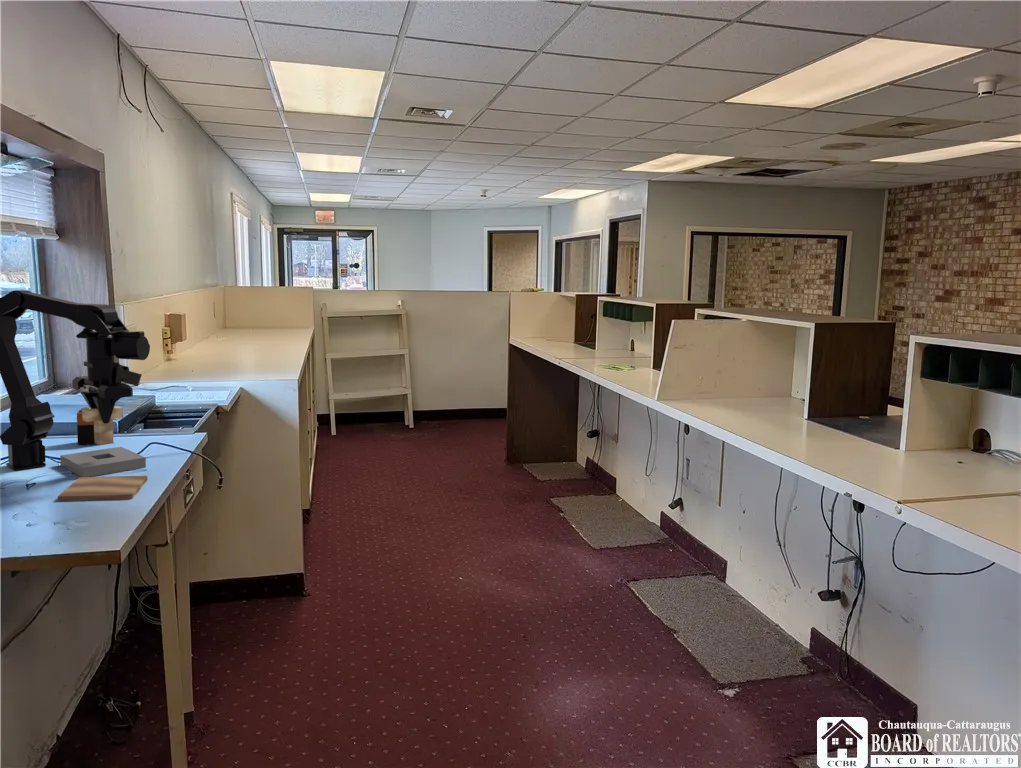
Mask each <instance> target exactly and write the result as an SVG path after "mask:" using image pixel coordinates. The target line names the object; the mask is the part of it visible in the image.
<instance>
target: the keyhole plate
mask: <svg viewBox="0 0 1021 768" xmlns="http://www.w3.org/2000/svg"><path fill="white" fill-rule="evenodd" d="M59 456H60V466H61V467H63V468H65V469H67V470H69V471H70V472H73V473H74V474H75V475H78V476H79V477H90V476H91V477H98V476H102V475H108V474H109V475H110V474H114V473H119V472H125V471H131V470H137V469H143V468H146V466H147V464H146V463H147V461H146V459H147V458H146V457H145V456H143V455H140V454H139V453H136V452H134V451H132V450H130V449H127V448H125V447H123V446H117V447H116V446H115V447H108V448H104V449H95V450H89V451H87V450H86V451H82V452H75V453H68V454H67V453H66V454H60V455H59Z"/></svg>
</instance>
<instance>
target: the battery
mask: <svg viewBox="0 0 1021 768" xmlns="http://www.w3.org/2000/svg"><path fill="white" fill-rule="evenodd" d="M86 409H90V407H89V406H88V407H87V406H86V407H85V406H84V407H80V409H79V410H78V411H77V413H76V431H77V432H76V433H77V434H76V435H77V436H76V437H77V444H78V446H87V445H97V444H96V443H95V440H94V421H91V422H86V421H83V416H82V410H86Z"/></svg>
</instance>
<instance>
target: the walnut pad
mask: <svg viewBox="0 0 1021 768" xmlns="http://www.w3.org/2000/svg"><path fill="white" fill-rule="evenodd" d="M148 479H149V478H148V475H118V476H117V475H116V476H115V475H114V476H112V475H111V476H108V475H107V476H91V477H81V476H79V477H78V478H76V480H74V481H73V482H72V483H71V484H70V485H69V486H68V487H66V489H64V490H63V491H62V492H61V493H60V494H59V495H57V501H58V502H61V501H62V502H64V501H67V502H68V501H70V502H71V501H100V500H105V499H106V500H133V499H134V498H135V496H136V495H137V494H138V493H139V492H140V490H141V488H142V487H143V486H144V485H145V484H146V482H148Z"/></svg>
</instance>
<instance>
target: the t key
mask: <svg viewBox="0 0 1021 768" xmlns="http://www.w3.org/2000/svg"><path fill="white" fill-rule="evenodd" d="M82 416H83V421H86V422H91V421H94V440H95V443H96V444H95V445H97V446H106V445H111V444H112V445H113V444H114V421H113V420H115V419H123V418H124V407H123V406H119V405H117V406H116V405H115V406H114V408H113V412H112V415H111V418H110V421H109V423H103V421H102V419H101V416H100V414H99V411H98V409H97V408H95V409H90V408H89V409H86V410H82Z"/></svg>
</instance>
